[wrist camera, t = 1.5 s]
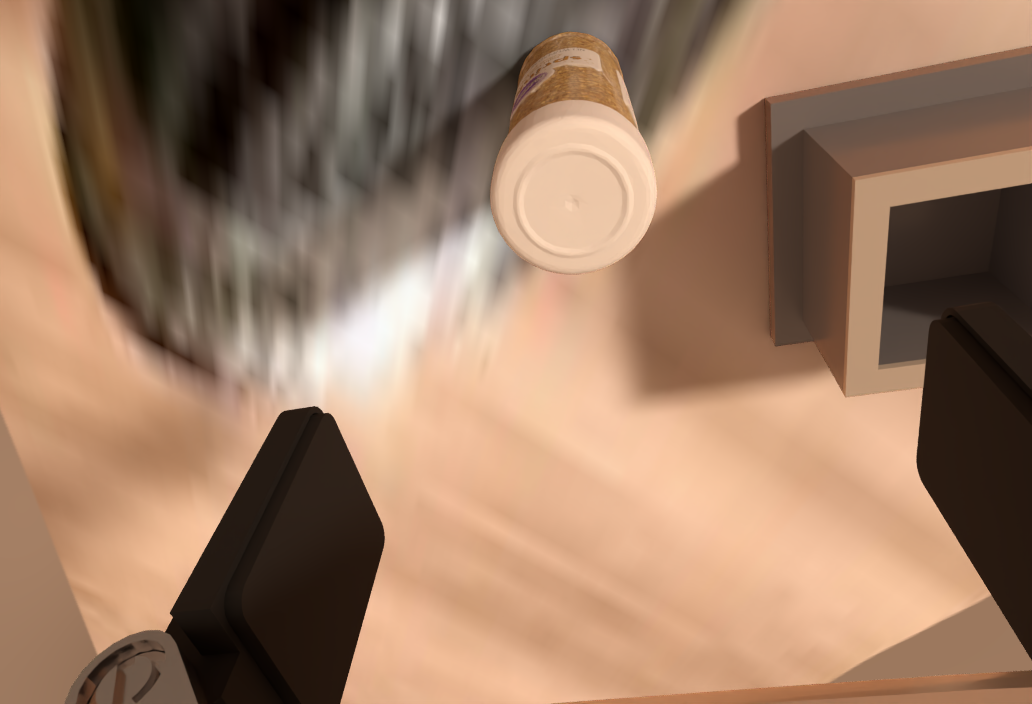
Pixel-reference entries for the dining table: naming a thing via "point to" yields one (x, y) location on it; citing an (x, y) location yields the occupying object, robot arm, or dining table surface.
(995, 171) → the well
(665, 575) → the dining table surface
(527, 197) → the sprinkles bottle
